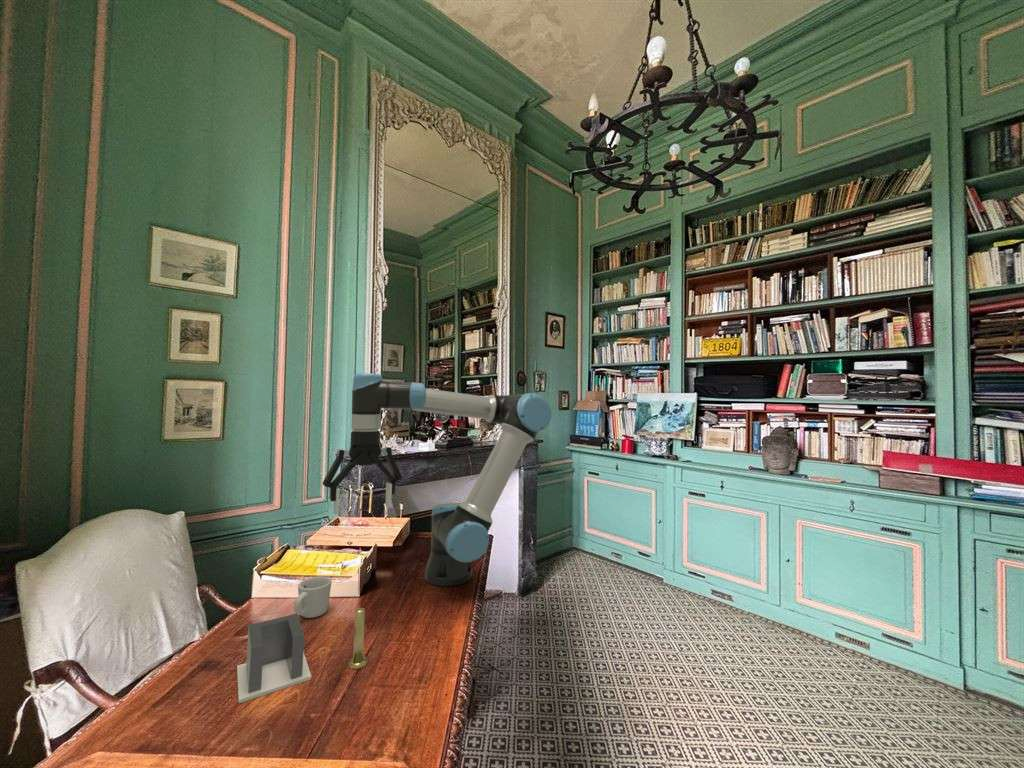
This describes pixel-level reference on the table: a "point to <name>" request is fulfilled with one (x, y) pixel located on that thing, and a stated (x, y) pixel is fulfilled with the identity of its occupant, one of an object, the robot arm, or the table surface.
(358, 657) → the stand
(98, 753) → the table surface
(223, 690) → the table surface
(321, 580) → the cup
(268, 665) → the pad
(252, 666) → the grey u-shaped block
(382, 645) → the table surface
